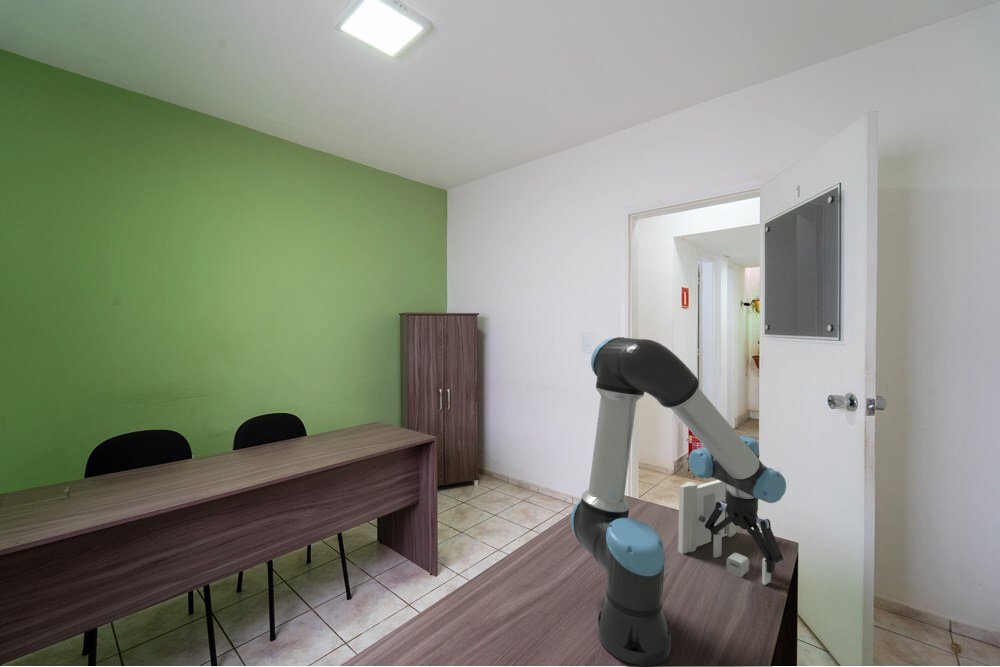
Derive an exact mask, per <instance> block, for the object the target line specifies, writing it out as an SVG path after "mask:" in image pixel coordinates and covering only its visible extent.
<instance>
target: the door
mask: <svg viewBox="0 0 1000 667" xmlns="http://www.w3.org/2000/svg"><path fill="white" fill-rule="evenodd" d="M697 485H698V488H697V530H696V548H698V547H701V546H704V545H705V544H708V543H710V542H711V532H710V530H709V529H707V528H705V524H706V522H707V521H708V519H709V517H710V516H711V514H712V513H713V511H714V509H715V505H716V502H719V501H724V502H725V494H726V483H724V482H722V481H720V480H718V479H715V480H711V481H708V482H705V483H702V484H697ZM724 519H725V510H723V512H722V514H721V515H720V517H719V518H718V520H717V521H716V523H715V524H714V526H716V525H717V524H719V523H720V522H721V521H723V520H724ZM719 532H720V533H722V538H724V537H725V535H724V533H725V527H724V528H723V529H722V530H720V531H719ZM719 532H718V533H719ZM711 543H712V542H711Z"/></svg>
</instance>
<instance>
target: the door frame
mask: <svg viewBox="0 0 1000 667" xmlns="http://www.w3.org/2000/svg"><path fill="white" fill-rule="evenodd" d="M698 485H699V484H697V483H695V482H693V481H687V482H684V484H681V485H679V487H678V488H679V489H678V490H679V491H678V496H679V497H678V527H677V528H678V530H677V532H678V534H677V535H678V536H677V537H678V538H677V540H678V541H677V553H678V554H679V553H680V554H681V555H684V554H687V553H693V552H695V551H696V550H697V547H696V530H697V488H698ZM726 486H727V484H726ZM727 491H728V490H727V489H726V492H727ZM725 504H726V505H727V503H726V494H725ZM726 517H728V514H727V512H726V509H725V518H726ZM729 525H730V526H729ZM731 525H732V526H731ZM733 526H735V527H733ZM735 534H737V526H736V525H734V524H733V523H732V522H731V523H730V524H728V525H727V526H726V527H725V533H724V536H726V537H728V538H731V537H733V536H735Z"/></svg>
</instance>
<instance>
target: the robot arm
mask: <svg viewBox="0 0 1000 667" xmlns="http://www.w3.org/2000/svg"><path fill="white" fill-rule="evenodd" d="M590 359H591V361H590V365H591V370H592V371H593V373H594V375H595V376H596V380H595V381H596V384H595V389H596V390H597V392H598V393H599V395H600V398H599V399H600V400H599V407H598V409H599V410H598V417H597V423H596V424H597V425H596V432H595V439H594V440H595V441H594V447H593V455H592V462H591V463H592V464H591V470H590V477H589V486H588V489H587V490H585V491H584V492H582V494H581V499H579V501H578V502H577V504H575V505H574V507H573V509H572V511H571V515H570V527H571V531H572V533H573V534H574V537H575V538H576V540H577V542H578V543H579V544H580V545H581V547H582V548H584V550H586V551H587V552H588V553H589V555H590V556H591V557H592V558H593V559H594V560H595V561H596V563H597V564H598V565H599V566H600V568H602V569H603V571H604V572H605V575H606V576H605V578H606V579H605V580H606V582H605V597H604V599H603V603H602V605H601V608H600V611H599V613H598V615H597V622H596V624H597V625H596V627H597V628H596V631H597V637H598V639H599V641H600V643H601V645H602V646H603V647H604V649H606V651H608V652H609V653H610V655H612V656H614V657H615V658H617V659H619V660H620V661H622V662H624V663H627V664H629V665H633V666H637V667H638V666H639V667H654V666H657V665H660V664H662V663H664V662H666V660H667V659H668V658H669V656H670V655H671V651H672V650H671V649H672V637H671V631H670V629H669V626H668V623H667V618H666V615H665V612H664V609H663V607H664V605H663V603H664V578H665V576H664V575H665V560H666V559H665V558H666V557H665V552H664V551H665V550H664V542H663V540H662V537H661V536H660V535H659V533H658V532H657V530H655V529H654V528H653V527H652V526H651V525H649V524H647V523H645V522H643V521H638V519H635V518H630V517H629V514H630V506H631V505H630V504H629V502H628V501H627V500H626V498H625V493H626V486H627V479H628V478H627V477H628V469H629V464H630V453H631V446H632V440H633V430H634V422H635V415H636V414H635V413H636V408H637V402H638V401H639V400H641V398H643V397H645V393H646V394H647V395H650V396H652V397H653V398H654V399H656V401H657V402H658V403H659V404H660V405H661V406H662V407H664V408H666V409H671V410H672V412H673V413H674V414H675V415H676V416H677V418H678V419H680V421H681V423H683V424H684V425H685V427H687V429H688V430H689V431H690V432H691V433H692V434H693V435H694V437H695V438H696V439H697V440H698V441H699V442H700V443H701V444H702V445H703V447H701V448H696V449H693V450H692V451H691V452H690V454H689V455H688V465H689V468H690V470H691V472H692V474H694V476H696V477H697V478H699V479H711V478H712V479H713V478H714V479H715V480H720V481H722V482H724V483H726V484H727V486H726V489H727V490H728V491H727V492H726V503H727V505H726V504H725V502H724V501H719V502H716V505H715V509H714V511H713V513H712V514H711V516H710V517H709V519H708V521H707V522H706V524H705V528H707V529H709V530H710V532H711V544H713V546H712V552H713V553H712V557H713V558H719V557H721V556H722V549H723V548H722V547H723V546H722V544H723V543H722V542H723V539H722V538H723V537H722V533H720V532H719V531H720V530H722V529H723V528H724V527H726V526H727V525H728V524H730V523H731V522H732V523H733V524H734V525H736V527H740V529H743V530H746V531H747V533H748V534H749V535H750V536H751V538H752V539H753V540H754V542H755V544H756V545H757V548H759V551H760V552H761V554H762V555H763V558H762V560H761V561H762V562H761V567H762V568H761V584H762V585H763V586H766V585H768V584H769V583H771V582H772V581H771V579H772V574H773V573H774V572H775V565H776V563H779V562H781V561H783V560H784V557H783V554H782V552H781V550H780V547H779V545H778V542H777V540H776V537H775V534H774V532H773V531H772V530H773V529H772V525H771V524H772V523H771V521H770V519H769V518H765V519H763V518H760V517H759V516H758V510H759V500H760V501H763V502H765V503H769V504H774V503H778V502H779V501H780V500H781V499H782V498H783V497H784V495H785V493H786V491H787V482H786V478H785V477H784V476H783V474H782V473H781V472H780V471H779V472H778V471H776V470H774V469H773V468H771V467H767V466H766V465H765V464H763V462H762V461H761V460H760V456H761V455H760V448H759V447H760V445H759V441H758V440H756V439H755V438H752V437H749V436H745V435H739V434H738V432H736V431H735V429H734V428H733V427H732V426H731V424H730V423H729V422H728V421H727V420H726V419H725V418H724V416H723V415H722V413H721V412H719V410H718V409H717V408H716V406H715V405H713V403H712V401H710V400H709V398H708V397H707V396H706V395H705V393H704V392H703V391H702V390H701V389H700V380H699V379H698V378H697V376H696V375H695V374H694V373H693V372H692V371H691V369H690V368H689V367H688V366H687V365H686V364H685V363H684V361H683V360H681V359H680V357H678V356H677V355H676V354H675V353H674V352H672V351H671V350H670V349H669V348H667V347H666V346H664V345H663V344H661V343H659V342H658V341H655V340H652V339H646V338H640V339H639V338H633V337H631V338H629V337H623V336H622V337H619V336H617V337H609V338H607V339H605V340H603V341H601V342H600V343H598V345H596V347H595V348H594V350H593V352H592V356H591V358H590ZM725 509H726V512H727V514H728V517H726V518H725V519H724V520H723V521H721V522H720V523H719V524H717V525H716V526H714V524H715V523H716V521H717V520H718V518H719V517H720V515H721V514H722V512H723V510H725ZM718 532H719V533H718Z"/></svg>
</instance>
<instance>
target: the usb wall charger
mask: <svg viewBox="0 0 1000 667" xmlns="http://www.w3.org/2000/svg"><path fill="white" fill-rule="evenodd" d="M725 566H726V569H725V570H726V571H727V572H728V573H730V574H732V575H734V576H737V577H738V578H742V577H743V576H744V575H746V574H747V573H748V572H749V570H750V558H748V557H747V556H745V555H742V554H740V553H738V552H737V551H736V552H733V553H732V554H731V555H729V556H728V557H727V558H726V565H725Z"/></svg>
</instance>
